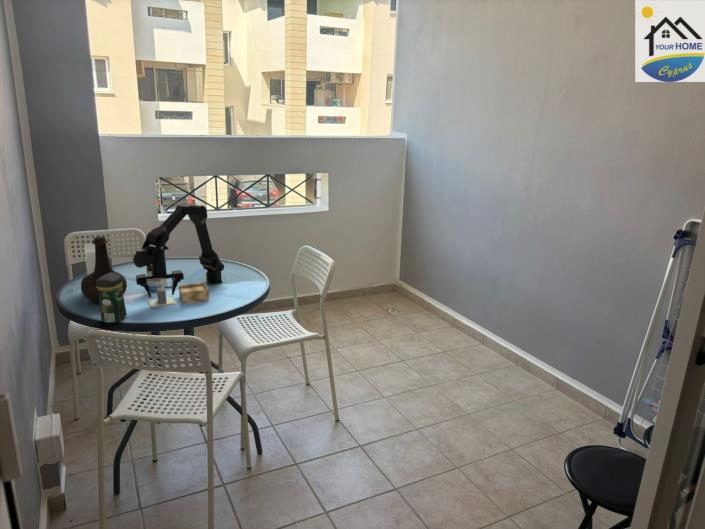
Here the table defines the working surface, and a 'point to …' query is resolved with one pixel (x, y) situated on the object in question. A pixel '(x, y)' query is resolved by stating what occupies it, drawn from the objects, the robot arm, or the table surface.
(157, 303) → the cover plate
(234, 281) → the table surface
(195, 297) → the oak box
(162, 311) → the table surface
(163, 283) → the ink box
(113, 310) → the coffee jar
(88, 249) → the milk
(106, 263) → the glass bottle
